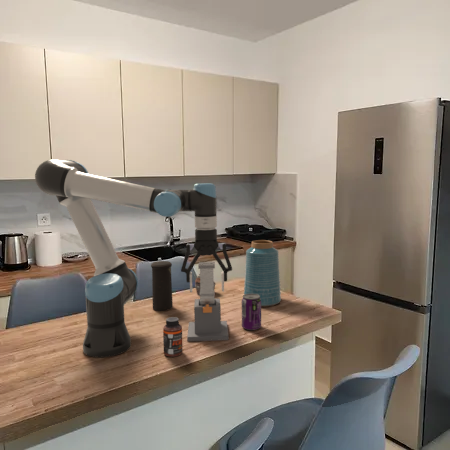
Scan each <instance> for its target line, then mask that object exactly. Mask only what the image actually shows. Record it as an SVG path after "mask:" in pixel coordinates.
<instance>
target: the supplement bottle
mask: <svg viewBox="0 0 450 450" xmlns="http://www.w3.org/2000/svg"><path fill="white" fill-rule="evenodd" d="M165 323H166V324H164V326H163V327H162V331H163V332H162V333H163V335H162V337H163V354H164V356H166V357H169V358H174V357H179V356H181V355H182V354H183V326H182V325H181V324H180V319H179V318H178V317H177V316H175V317H174V316H171V317H166V319H165Z"/></svg>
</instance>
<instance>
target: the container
mask: <svg viewBox="0 0 450 450" xmlns="http://www.w3.org/2000/svg"><path fill="white" fill-rule="evenodd" d="M172 266H173V264H172V262H170V261H168V260H167V261H166V260H159V261H157V260H156V261H154V262H152V263H151V264H150V267H151V275H152V276H151V279H152V280H151V284H152V292H151V293H152V310H153V311H155V312H165V311H169V310H171V309H173V304H174V303H173V288H172V287H173V286H172Z"/></svg>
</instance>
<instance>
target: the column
mask: <svg viewBox="0 0 450 450" xmlns="http://www.w3.org/2000/svg"><path fill="white" fill-rule="evenodd" d="M214 269H216V264H215V261H206V262H205V261H200V262H198V270H199V274H200V296H199V299H200V306H206V304H209V305H215V299H216V298H215V296H216V295H215V294H216V293H215V291H216V290H215V289H214V282H215V279H214Z"/></svg>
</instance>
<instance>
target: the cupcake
mask: <svg viewBox="0 0 450 450" xmlns="http://www.w3.org/2000/svg"><path fill="white" fill-rule="evenodd" d="M194 281H195V283H194V287H195V290H196V295H197V296H198V297H200V273H198V275H196V279H195V280H194ZM215 287H216V282H215V281H214V290H215V289H216V288H215Z"/></svg>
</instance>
